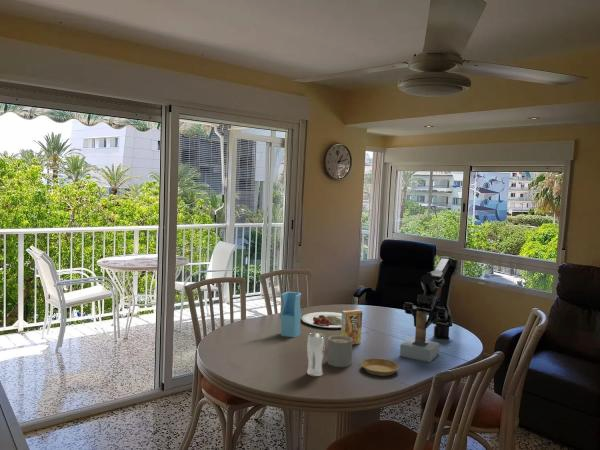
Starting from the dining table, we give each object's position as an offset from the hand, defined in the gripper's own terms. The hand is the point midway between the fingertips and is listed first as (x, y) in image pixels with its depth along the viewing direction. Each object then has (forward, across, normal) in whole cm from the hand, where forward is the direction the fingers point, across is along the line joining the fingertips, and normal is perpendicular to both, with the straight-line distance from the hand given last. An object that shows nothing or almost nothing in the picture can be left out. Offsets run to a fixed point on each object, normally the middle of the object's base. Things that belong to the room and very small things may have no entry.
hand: (420, 327), depth 209 cm
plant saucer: (+28, -7, -10) cm, 31 cm away
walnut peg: (+4, 0, +6) cm, 7 cm away
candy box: (+12, -31, +7) cm, 34 cm away
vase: (+16, -60, +2) cm, 63 cm away
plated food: (-7, -57, +25) cm, 63 cm away
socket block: (+8, 0, +10) cm, 13 cm away
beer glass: (+41, -25, -23) cm, 54 cm away
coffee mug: (+28, -23, -10) cm, 38 cm away
